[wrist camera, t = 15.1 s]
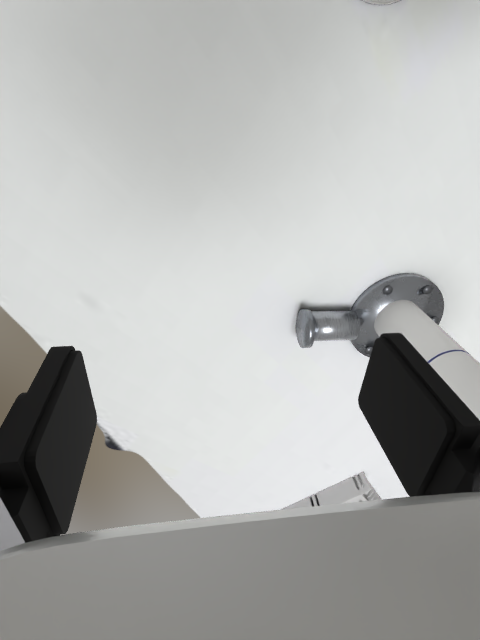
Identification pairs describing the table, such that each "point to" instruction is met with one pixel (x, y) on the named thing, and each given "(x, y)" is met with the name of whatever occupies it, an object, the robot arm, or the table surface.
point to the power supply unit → (341, 493)
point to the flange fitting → (369, 312)
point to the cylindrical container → (434, 349)
